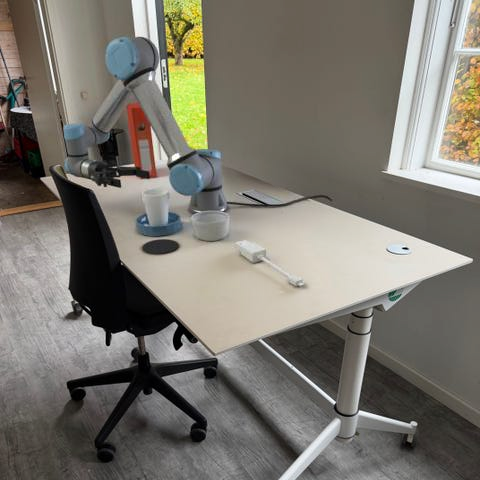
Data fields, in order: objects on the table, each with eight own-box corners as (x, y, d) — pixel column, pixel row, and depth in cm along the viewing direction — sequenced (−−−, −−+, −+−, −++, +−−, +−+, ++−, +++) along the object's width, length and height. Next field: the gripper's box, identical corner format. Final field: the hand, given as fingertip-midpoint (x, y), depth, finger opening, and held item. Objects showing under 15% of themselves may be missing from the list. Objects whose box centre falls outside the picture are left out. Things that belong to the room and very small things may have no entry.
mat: (179, 239, 162) (179, 238, 162) (177, 253, 152) (177, 252, 151) (144, 241, 161) (144, 239, 161) (140, 255, 151) (140, 254, 151)
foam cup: (150, 234, 166) (146, 197, 159) (142, 226, 173) (138, 190, 166) (175, 229, 169) (172, 193, 162) (167, 221, 176) (163, 187, 170)
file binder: (140, 179, 230) (131, 108, 213) (134, 170, 244) (125, 103, 227) (156, 177, 232) (148, 106, 215) (150, 169, 246) (142, 102, 229)
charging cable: (295, 292, 129) (295, 282, 127) (233, 250, 152) (233, 240, 150) (309, 288, 131) (310, 277, 130) (247, 246, 154) (247, 237, 152)
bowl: (182, 220, 178) (181, 210, 176) (180, 236, 165) (179, 225, 163) (139, 221, 178) (138, 212, 176) (133, 237, 164) (132, 227, 162)
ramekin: (212, 226, 172) (211, 207, 169) (237, 235, 164) (237, 216, 161) (184, 236, 164) (183, 216, 161) (209, 246, 156) (208, 226, 153)
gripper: (123, 173, 189) (160, 181, 178) (71, 188, 172) (109, 198, 161) (120, 154, 185) (158, 161, 174) (66, 167, 168) (105, 176, 157)
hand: (134, 179), depth 168 cm, fingers open, 13 cm apart
